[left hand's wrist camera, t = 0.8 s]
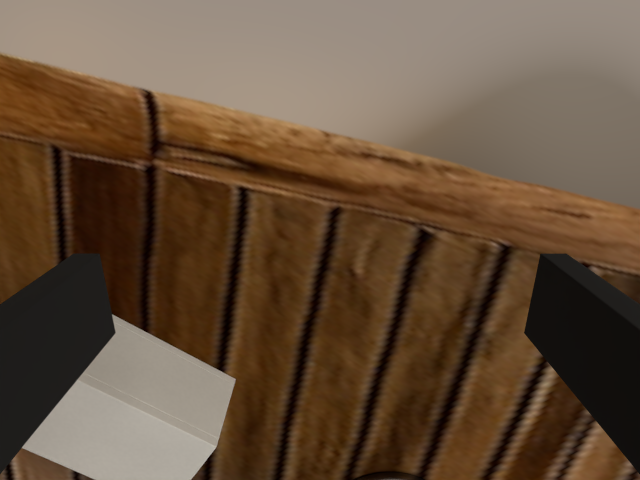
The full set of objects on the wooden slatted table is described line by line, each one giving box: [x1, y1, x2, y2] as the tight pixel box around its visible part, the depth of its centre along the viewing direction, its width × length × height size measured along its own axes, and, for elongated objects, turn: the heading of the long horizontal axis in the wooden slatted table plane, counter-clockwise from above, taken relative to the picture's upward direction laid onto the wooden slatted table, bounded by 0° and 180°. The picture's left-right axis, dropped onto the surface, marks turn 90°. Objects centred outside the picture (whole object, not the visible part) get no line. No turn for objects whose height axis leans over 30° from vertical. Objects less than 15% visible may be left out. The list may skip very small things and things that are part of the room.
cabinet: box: [22, 314, 236, 480], centre depth 41 cm, size 17×10×9 cm, turn 56°
